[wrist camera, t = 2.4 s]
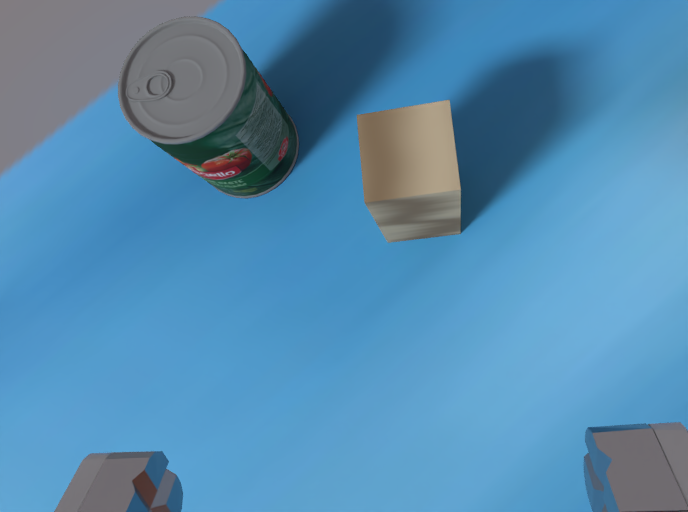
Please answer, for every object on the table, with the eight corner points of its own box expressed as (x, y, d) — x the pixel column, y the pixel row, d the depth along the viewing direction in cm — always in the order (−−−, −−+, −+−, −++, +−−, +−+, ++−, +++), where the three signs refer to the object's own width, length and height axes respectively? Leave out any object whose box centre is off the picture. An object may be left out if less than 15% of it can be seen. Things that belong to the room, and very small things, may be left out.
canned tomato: (292, 90, 43) (238, 0, 32) (305, 187, 41) (252, 125, 31) (196, 113, 44) (113, 34, 34) (205, 208, 43) (120, 155, 32)
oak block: (451, 164, 39) (449, 99, 30) (460, 233, 38) (460, 189, 29) (381, 175, 40) (356, 115, 31) (387, 242, 39) (364, 202, 30)
